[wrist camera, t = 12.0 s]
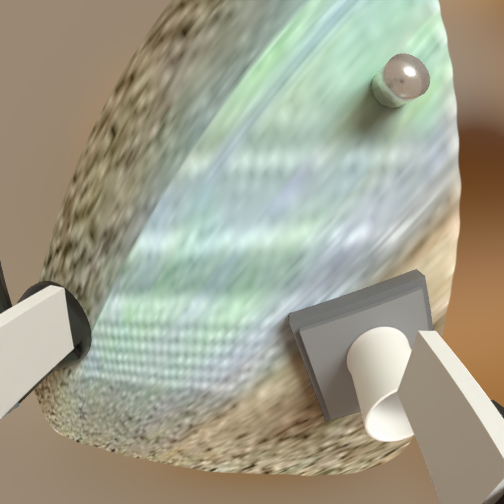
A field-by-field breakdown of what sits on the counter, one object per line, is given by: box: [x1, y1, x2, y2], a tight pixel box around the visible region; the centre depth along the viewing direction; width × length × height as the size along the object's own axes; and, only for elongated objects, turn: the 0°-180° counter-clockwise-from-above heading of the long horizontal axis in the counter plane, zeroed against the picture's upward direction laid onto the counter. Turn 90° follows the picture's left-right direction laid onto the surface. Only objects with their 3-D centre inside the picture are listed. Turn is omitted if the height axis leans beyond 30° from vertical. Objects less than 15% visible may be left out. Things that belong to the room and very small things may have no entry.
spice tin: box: [371, 54, 430, 108], centre depth 30 cm, size 5×5×7 cm
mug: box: [347, 327, 414, 442], centre depth 32 cm, size 12×8×12 cm
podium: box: [289, 269, 433, 421], centre depth 40 cm, size 18×18×4 cm
